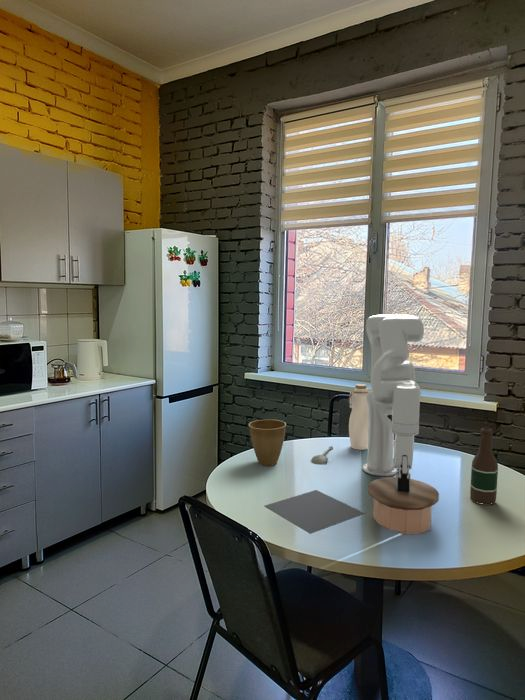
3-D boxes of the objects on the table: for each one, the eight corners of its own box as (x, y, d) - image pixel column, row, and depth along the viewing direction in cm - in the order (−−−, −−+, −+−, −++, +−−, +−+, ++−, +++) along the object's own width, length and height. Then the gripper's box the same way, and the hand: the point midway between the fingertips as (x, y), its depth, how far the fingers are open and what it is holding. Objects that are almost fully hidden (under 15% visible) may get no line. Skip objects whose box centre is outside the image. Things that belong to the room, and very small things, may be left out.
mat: (316, 491, 164) (316, 489, 164) (364, 515, 146) (365, 513, 146) (263, 507, 151) (263, 505, 151) (310, 535, 133) (310, 533, 133)
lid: (397, 476, 155) (397, 457, 155) (452, 497, 139) (453, 476, 139) (353, 490, 144) (354, 470, 143) (409, 515, 128) (410, 492, 127)
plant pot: (269, 454, 203) (269, 417, 201) (293, 463, 191) (293, 424, 190) (241, 461, 193) (241, 423, 192) (264, 472, 182) (264, 431, 180)
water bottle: (355, 451, 207) (357, 387, 204) (342, 446, 215) (344, 384, 212) (374, 448, 211) (375, 385, 208) (361, 443, 219) (362, 382, 216)
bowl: (397, 504, 153) (398, 483, 153) (441, 523, 140) (442, 500, 140) (362, 518, 144) (363, 495, 143) (406, 539, 131) (407, 515, 130)
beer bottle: (494, 497, 159) (498, 426, 157) (497, 507, 152) (501, 433, 149) (469, 494, 162) (472, 424, 159) (470, 503, 154) (474, 430, 152)
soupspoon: (308, 466, 192) (324, 469, 190) (309, 458, 192) (325, 461, 189) (324, 448, 212) (338, 451, 210) (324, 441, 212) (339, 443, 209)
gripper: (391, 419, 148) (389, 476, 150) (392, 434, 132) (390, 498, 134) (416, 421, 146) (414, 479, 148) (420, 436, 130) (418, 501, 132)
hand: (402, 487), depth 141 cm, fingers closed on lid, 3 cm apart
